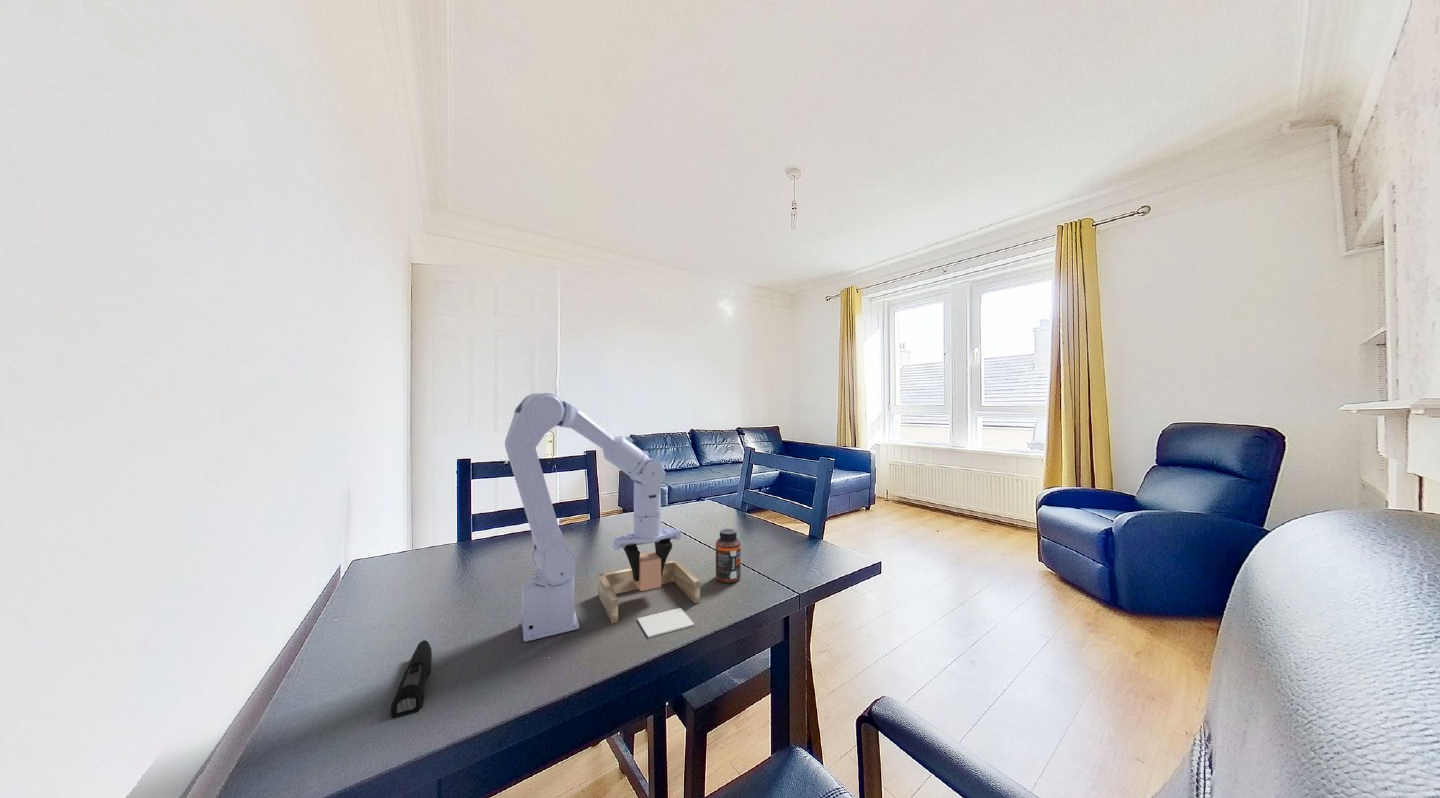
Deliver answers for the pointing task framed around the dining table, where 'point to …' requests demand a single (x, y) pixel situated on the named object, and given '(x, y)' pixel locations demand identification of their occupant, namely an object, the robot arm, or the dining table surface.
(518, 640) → the dining table surface
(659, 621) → the pad
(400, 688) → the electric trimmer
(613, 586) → the wooden u-shaped frame
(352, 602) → the dining table surface
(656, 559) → the block
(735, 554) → the supplement bottle
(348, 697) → the dining table surface
